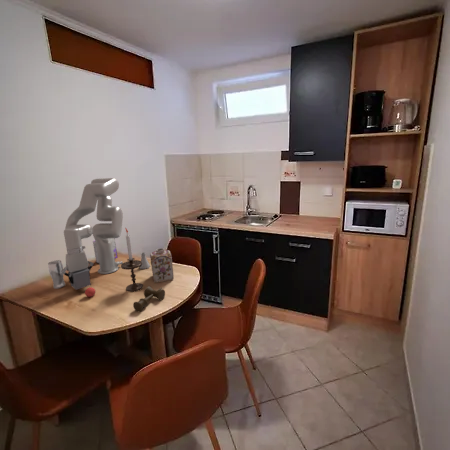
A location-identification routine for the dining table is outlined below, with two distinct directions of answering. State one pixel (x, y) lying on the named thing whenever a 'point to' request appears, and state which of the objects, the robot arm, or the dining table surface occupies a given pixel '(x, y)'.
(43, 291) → the dining table surface
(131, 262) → the candlestick
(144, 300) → the kendama
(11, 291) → the dining table surface
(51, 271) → the beer glass
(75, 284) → the matte gray cube
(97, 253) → the white carton
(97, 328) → the dining table surface
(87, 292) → the ball
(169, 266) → the decorative jar
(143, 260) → the flask
